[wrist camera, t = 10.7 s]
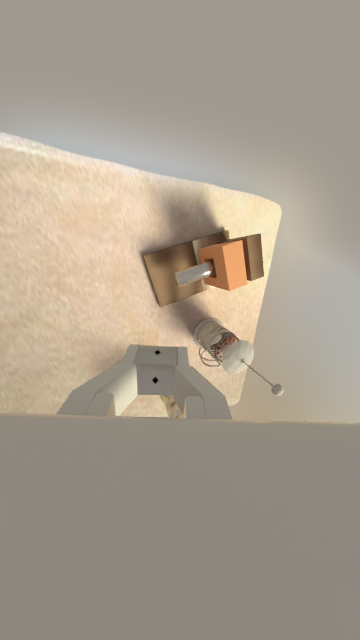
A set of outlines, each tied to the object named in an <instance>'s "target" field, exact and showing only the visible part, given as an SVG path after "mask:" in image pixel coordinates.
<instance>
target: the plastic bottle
mask: <svg viewBox="0 0 360 640" xmlns="http://www.w3.org/2000/svg"><path fill="white" fill-rule="evenodd" d="M159 396H160V397H161V399H162V401H163V402H164V404H165V407H166V409H167V413H168V417H169V418H183V413H182V412H181V410H180V408H179V407H178V405H177V403H176V402H175V400H174V399H173V397H172V396H169V395H159Z"/></svg>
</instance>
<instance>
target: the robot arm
mask: <svg viewBox="0 0 360 640" xmlns="http://www.w3.org/2000/svg"><path fill="white" fill-rule="evenodd" d="M137 394H138V395H169V396H172V397H173V399H174V400H175V402H176V403H177V405H178V407H179V408H180V410H181V412H182V413H183V418H166V417H130V416H119V415H120V414H121V413H122V412H123V411H124V409H125V408H126V407H127V406H128V405H129V404H130V403H131V402H132V401H133V400H134V399H135V398H136V397H137ZM0 640H360V423H335V422H302V421H301V422H300V421H267V420H232V417H231V414H230V410H229V407H228V404H227V401H226V398H225V396H224V395H223V394H222V393H221V392H220V391H219V390H218V389H216V388H215V387H214V386H213V385H212V384H211V383H210V382H209V381H208V380H207V379H205V378H204V377H203V376H202V375H201V374H200V373H199V372H198V371H197V370H196V369H195V368H193V367H192V366H189V358H188V349H187V347H163V346H151V345H136V344H130V345H129V347H128V349H127V351H126V354H125V356H124V358H123V360H122V362H121V363H118V364H116V365H114V366H113V367H111V368H109V369H108V370H106V371H104V372H103V373H101V374H99V375H98V376H96V377H94V378H93V379H91V380H89V381H88V382H86V383H84V384H83V385H81V386H79V387H78V388H76V389H74V390H73V391H72V392H71V394H70V395H69V397H68V398H67V399H66V401H65V402H64V404H63V405H62V407H61V408H60V410H59V411H58V412H57V414H26V413H0Z"/></svg>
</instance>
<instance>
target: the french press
mask: <svg viewBox="0 0 360 640" xmlns="http://www.w3.org/2000/svg"><path fill="white" fill-rule="evenodd" d="M193 336H194V342H195V344H196V345H197V346H198V347H199V348H200V349H205V350H204V351H203V352H202V354H203V353H204V352H205V351H207V352H208V353H209V354H210V355H211V356H212V357H213V358H215V359H216V360H208V359H204V358H203V357H202V354H201V355H200V349H199V355H200V357H201V361H202V359H204V360H208V361H217V362H218V361H220V362H222V366H223V368H224V370H225V371H226V372H228V373H229V374H237V373H240V372H242V371H243V370H245V369H246V368H247V367H250V366H249V365H250V363H251V362H252V359H253V357H254V349H253V346H252V344H250V343H249V342H248V341H242V340H241V341H240V340H239V339H238V338H237V337H236V336H235V335H234V334H233V333H232V332H230V331H229V330H227V329H226V328H224V326H223V324H222V322H221V321H219V320H218V319H216V318H208V319H205V320H203V321H202V322H200V323H199V324H198V326H197V327H196V328H195V331H194V335H193ZM207 349H208V350H207ZM211 350H214V351H211ZM209 351H210V352H209ZM211 352H215V353H211ZM212 354H215V355H212ZM214 356H215V357H214ZM202 362H203V361H202ZM203 364H205V363H204V362H203ZM218 364H219V365H216V366H211V365H207V364H205V365H207V366H210V367H218V366H220V363H219V362H218ZM250 368H251V367H250ZM251 369H252V368H251ZM252 370H253V369H252ZM253 371H254V372H256V371H255V370H253ZM256 373H257V372H256ZM257 374H258V375H259V376H261V375H260V374H259V373H257ZM261 377H262V376H261ZM262 378H263V379H264V380H265V381H267V380H266V379H265V378H264V377H262ZM267 382H268V381H267ZM268 383H269V382H268ZM269 384H270V385H271V386H273V385H272V384H271V383H269ZM283 392H284V388H283V387H282V386H281V385H280V384H276V385H274V386H273V388H272V393H273V394H275V395H277V396H280V395H282V393H283Z"/></svg>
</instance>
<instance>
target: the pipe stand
mask: <svg viewBox="0 0 360 640" xmlns="http://www.w3.org/2000/svg"><path fill="white" fill-rule="evenodd" d="M239 240H242V243H243V251H244V260H245V268H246V276H247V280H249V281H252V280H255V279H258V278H260V277H263V276H264V271H263V258H262V246H261V234H256V235H250V236H245V237H240V238H234V239H229V232H228V230H227V231H223V232H220V233H217V234H214V235H210V236H207V237H204V238H200V239H197V240H194V241H191V242H187V243H184V244H181V245H177V246H174V247H171V248H167V249H164V250H161V251H158V252H154V253H151V254H148V255H144V256H143V258H144V261H145V264H146V267H147V270H148V273H149V276H150V278H151V281H152V284H153V287H154V290H155V293H156V296H157V299H158V302H159V305H160V307H162V306H165V305H168V304H171V303H173V302H176V301H179V300H181V299H184V298H187V297H189V296H192V295H195V294H197V293H200V292H203V291H206V290H209V289H211V288H214V286H211V285H207V284H205V282H204V278H203V279H200V280H198V281H195V282H192V283H189V284H186V285H184V286H181V287H178V286H177V285H176V283H175V280H174V273H175V272H178V271H180V270H183V269H186V268H189V267H192V266H195V265H198V264H201V263H200V259H199V254H198V249H201V248H204V247H207V246H211V245H214V244H220V243H226V242H233V241H239Z"/></svg>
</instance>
